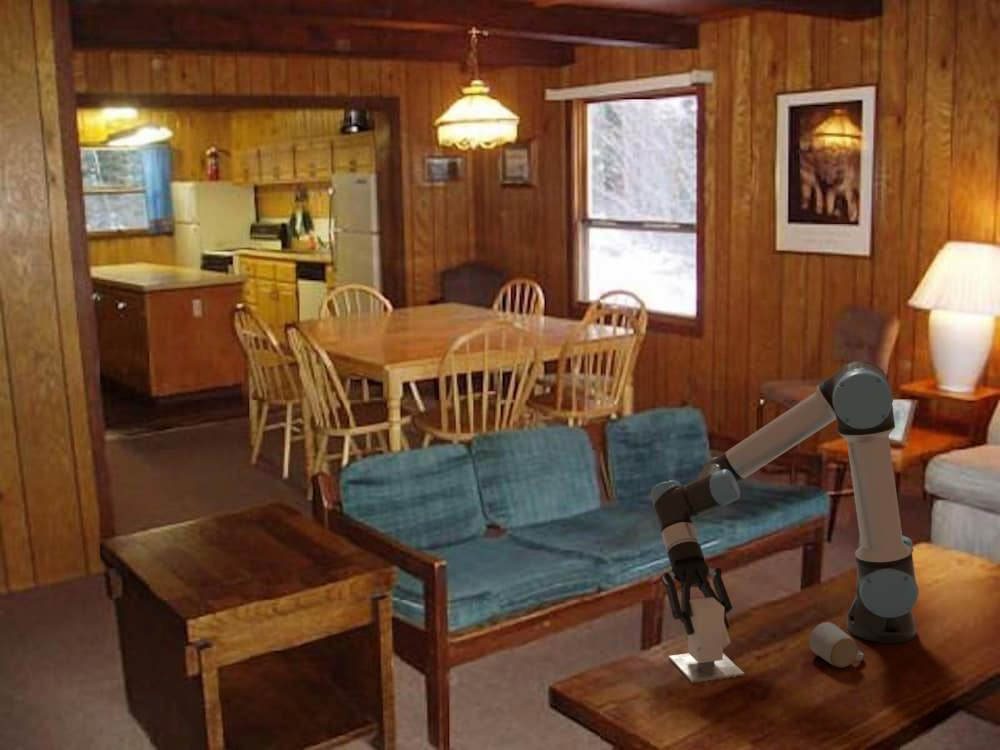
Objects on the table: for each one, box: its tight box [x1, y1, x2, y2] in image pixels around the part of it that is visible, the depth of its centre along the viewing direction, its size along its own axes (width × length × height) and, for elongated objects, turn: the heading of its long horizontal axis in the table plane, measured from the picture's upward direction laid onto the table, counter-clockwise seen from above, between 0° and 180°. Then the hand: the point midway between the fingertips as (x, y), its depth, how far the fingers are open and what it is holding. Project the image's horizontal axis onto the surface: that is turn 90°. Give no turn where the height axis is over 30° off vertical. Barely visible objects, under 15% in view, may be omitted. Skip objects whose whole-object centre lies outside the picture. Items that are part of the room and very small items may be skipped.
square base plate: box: [668, 652, 745, 684], centre depth 228 cm, size 12×12×7 cm
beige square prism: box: [687, 597, 724, 663], centre depth 227 cm, size 6×6×12 cm
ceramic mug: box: [809, 621, 865, 669], centre depth 230 cm, size 11×8×8 cm
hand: (713, 646), depth 224 cm, fingers closed on beige square prism, 6 cm apart
